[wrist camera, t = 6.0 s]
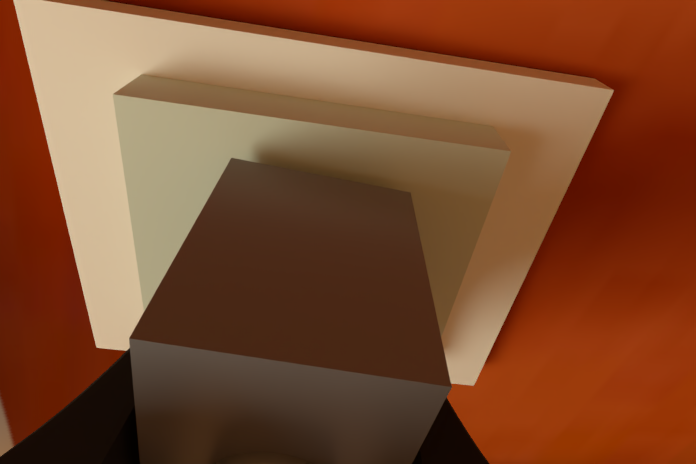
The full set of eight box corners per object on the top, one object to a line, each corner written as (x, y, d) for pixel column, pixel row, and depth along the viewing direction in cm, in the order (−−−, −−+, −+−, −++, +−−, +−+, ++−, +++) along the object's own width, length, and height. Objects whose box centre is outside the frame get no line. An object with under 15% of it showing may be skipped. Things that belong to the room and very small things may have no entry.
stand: (467, 363, 21) (483, 422, 18) (109, 326, 19) (74, 384, 17) (594, 78, 14) (650, 112, 11) (39, -10, 12) (-40, 5, 10)
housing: (410, 192, 12) (462, 438, 6) (353, 369, 15) (352, 623, 10) (230, 157, 11) (100, 387, 5) (218, 348, 15) (132, 601, 9)
